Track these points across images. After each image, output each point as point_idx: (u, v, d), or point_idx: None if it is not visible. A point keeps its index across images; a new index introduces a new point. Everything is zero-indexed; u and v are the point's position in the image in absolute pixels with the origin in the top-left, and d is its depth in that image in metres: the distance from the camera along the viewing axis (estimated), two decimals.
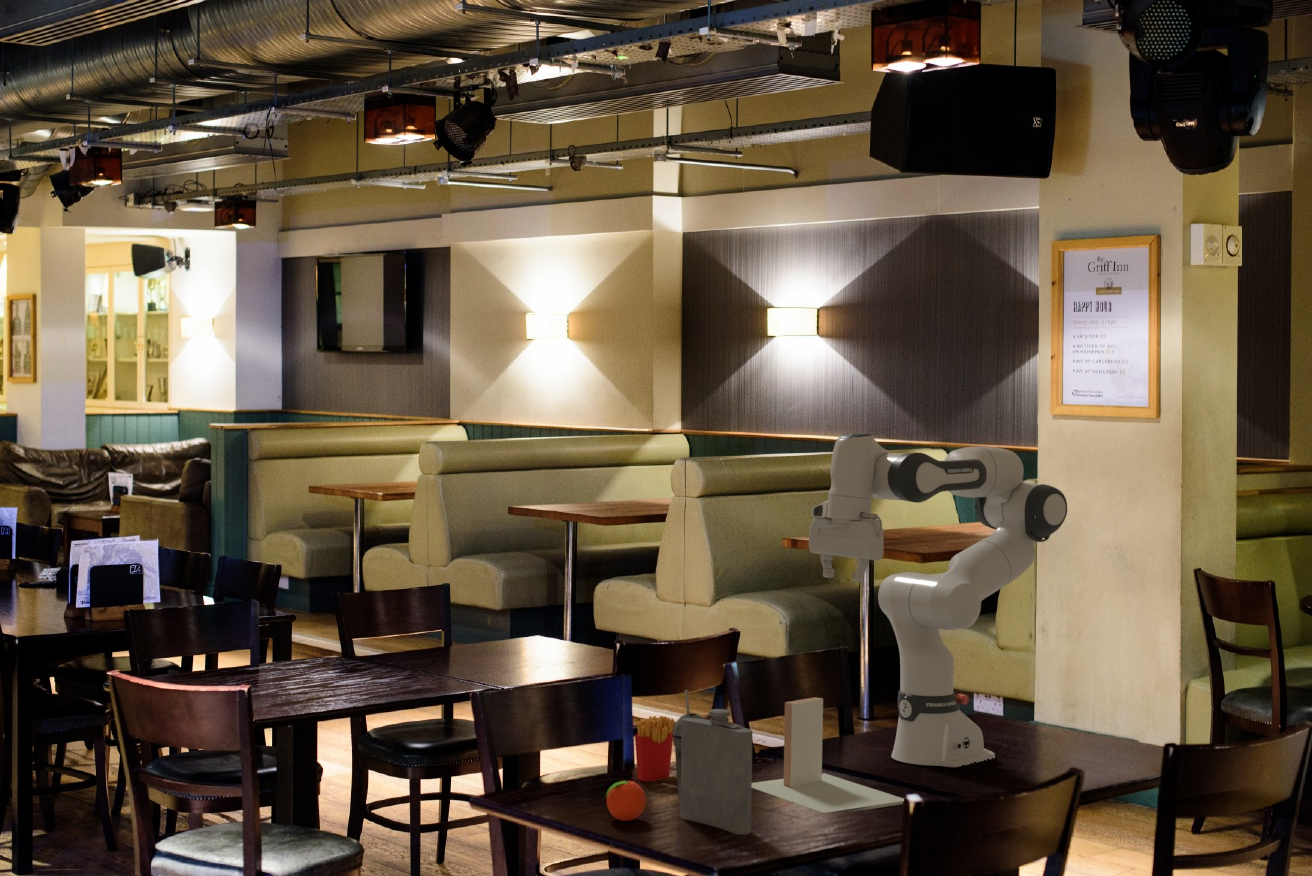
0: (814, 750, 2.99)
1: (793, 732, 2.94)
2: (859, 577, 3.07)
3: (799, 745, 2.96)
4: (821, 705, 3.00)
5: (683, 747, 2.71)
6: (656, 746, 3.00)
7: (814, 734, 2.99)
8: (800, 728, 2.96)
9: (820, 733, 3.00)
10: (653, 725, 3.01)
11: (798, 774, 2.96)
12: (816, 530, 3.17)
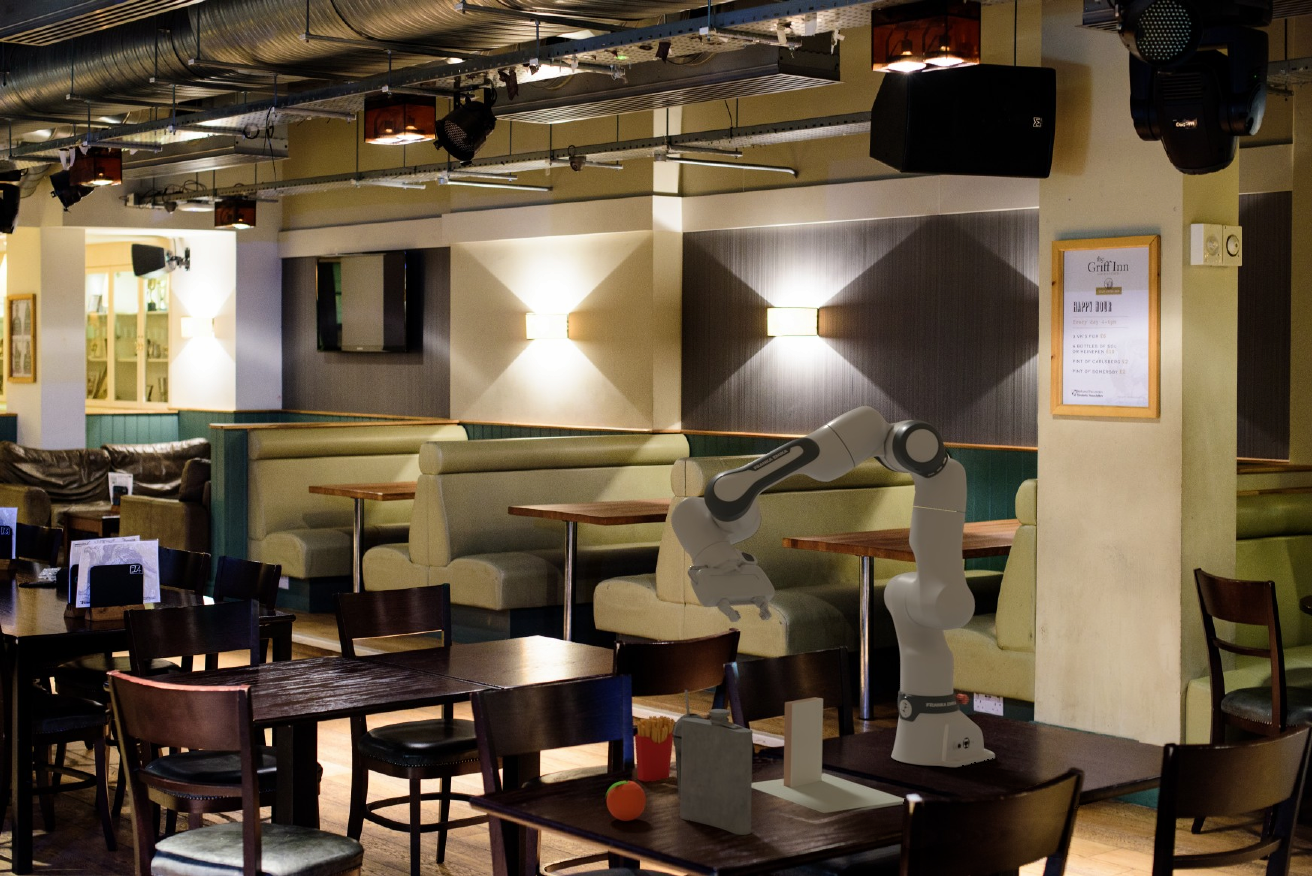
0: (814, 750, 2.99)
1: (793, 732, 2.94)
2: (731, 617, 3.04)
3: (799, 745, 2.96)
4: (821, 705, 3.00)
5: (683, 747, 2.71)
6: (656, 746, 3.00)
7: (814, 734, 2.99)
8: (800, 728, 2.96)
9: (820, 733, 3.00)
10: (653, 725, 3.01)
11: (798, 774, 2.96)
12: None
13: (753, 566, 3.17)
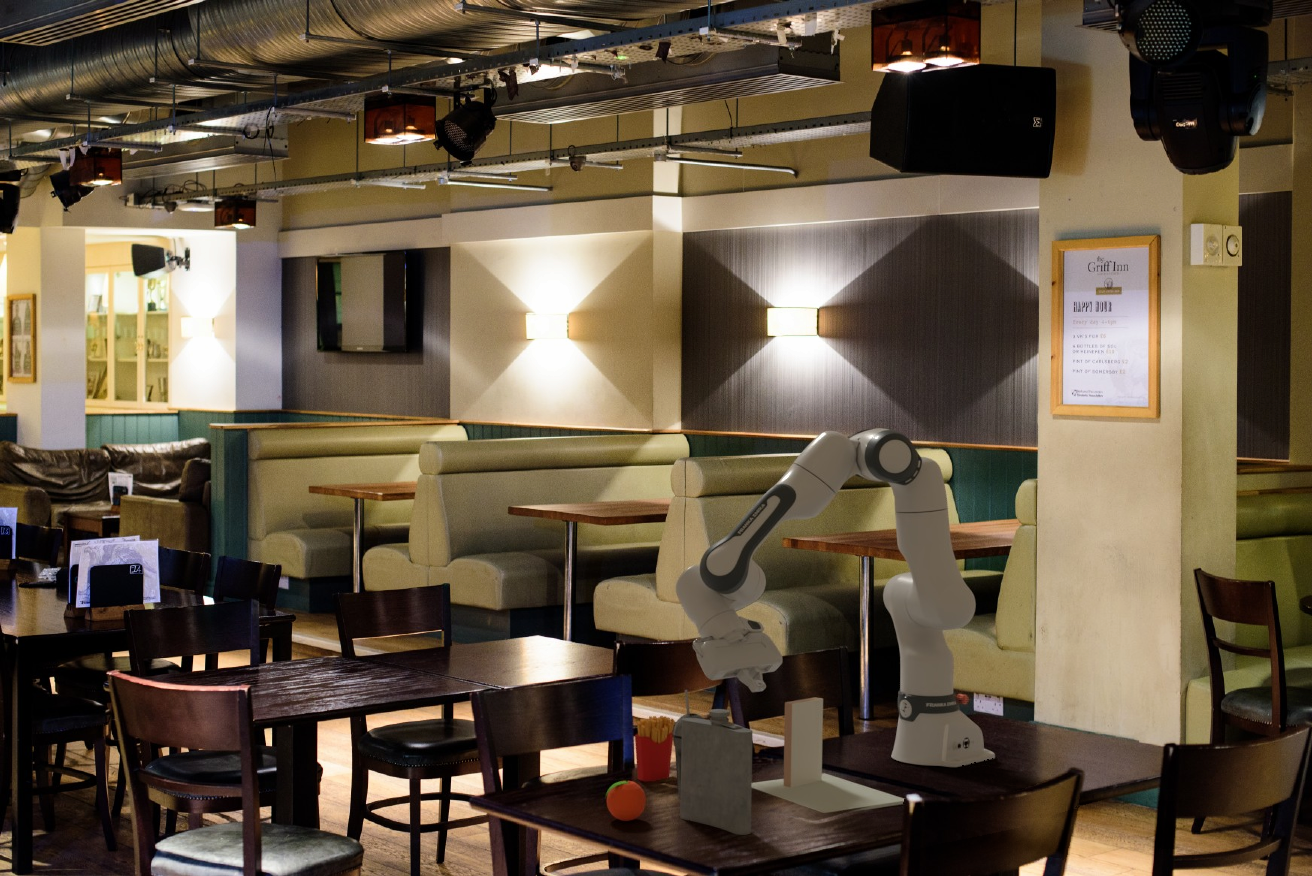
0: (814, 750, 2.99)
1: (793, 732, 2.94)
2: (752, 687, 3.06)
3: (799, 745, 2.96)
4: (821, 705, 3.00)
5: (683, 747, 2.71)
6: (656, 746, 3.00)
7: (814, 734, 2.99)
8: (800, 728, 2.96)
9: (820, 733, 3.00)
10: (653, 725, 3.01)
11: (798, 774, 2.96)
12: None
13: (760, 634, 3.15)
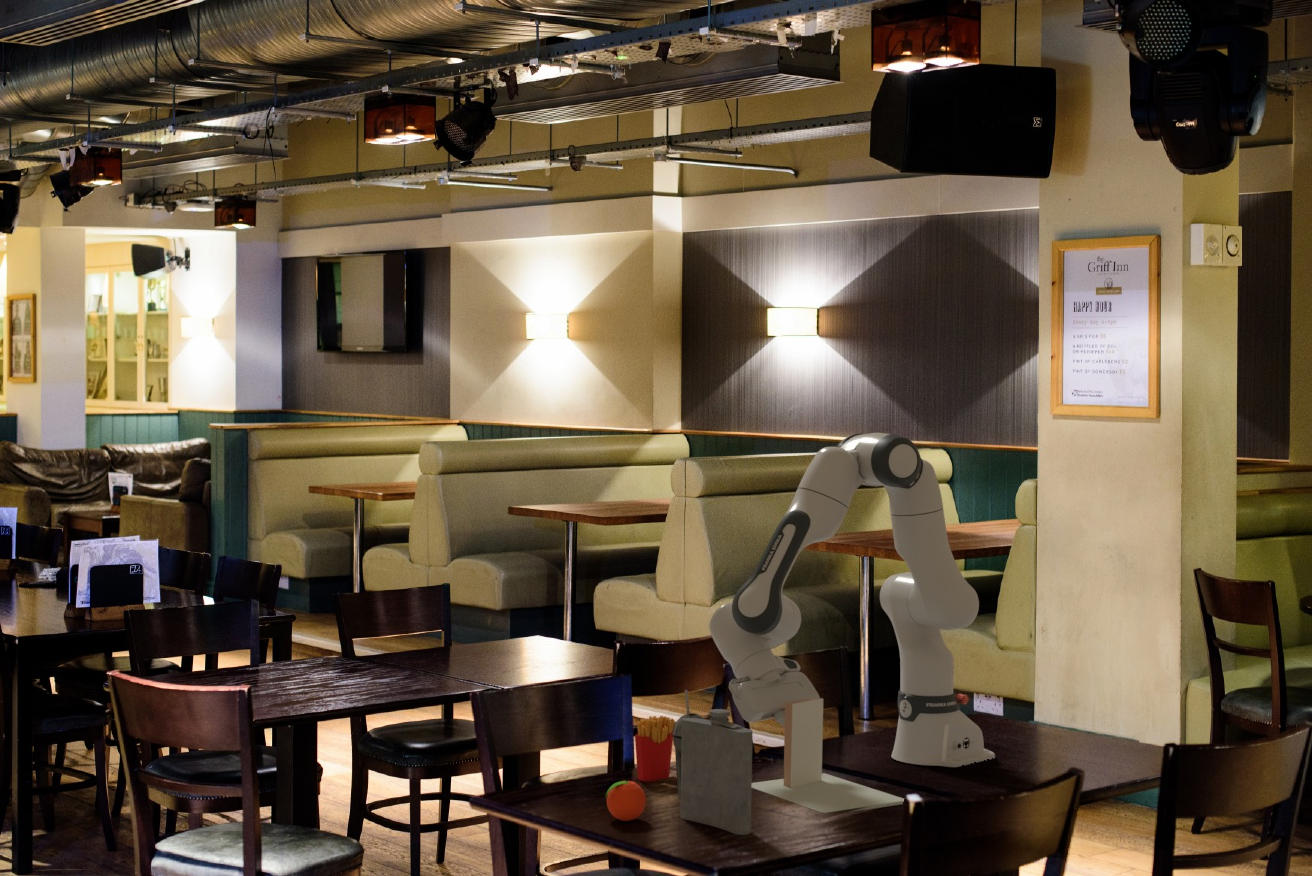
0: (814, 750, 2.99)
1: (793, 732, 2.94)
2: None
3: (799, 745, 2.96)
4: (821, 705, 3.00)
5: (683, 747, 2.71)
6: (656, 746, 3.00)
7: (815, 734, 2.99)
8: (800, 728, 2.96)
9: (820, 733, 3.00)
10: (653, 725, 3.01)
11: (798, 774, 2.95)
12: None
13: (796, 673, 3.08)
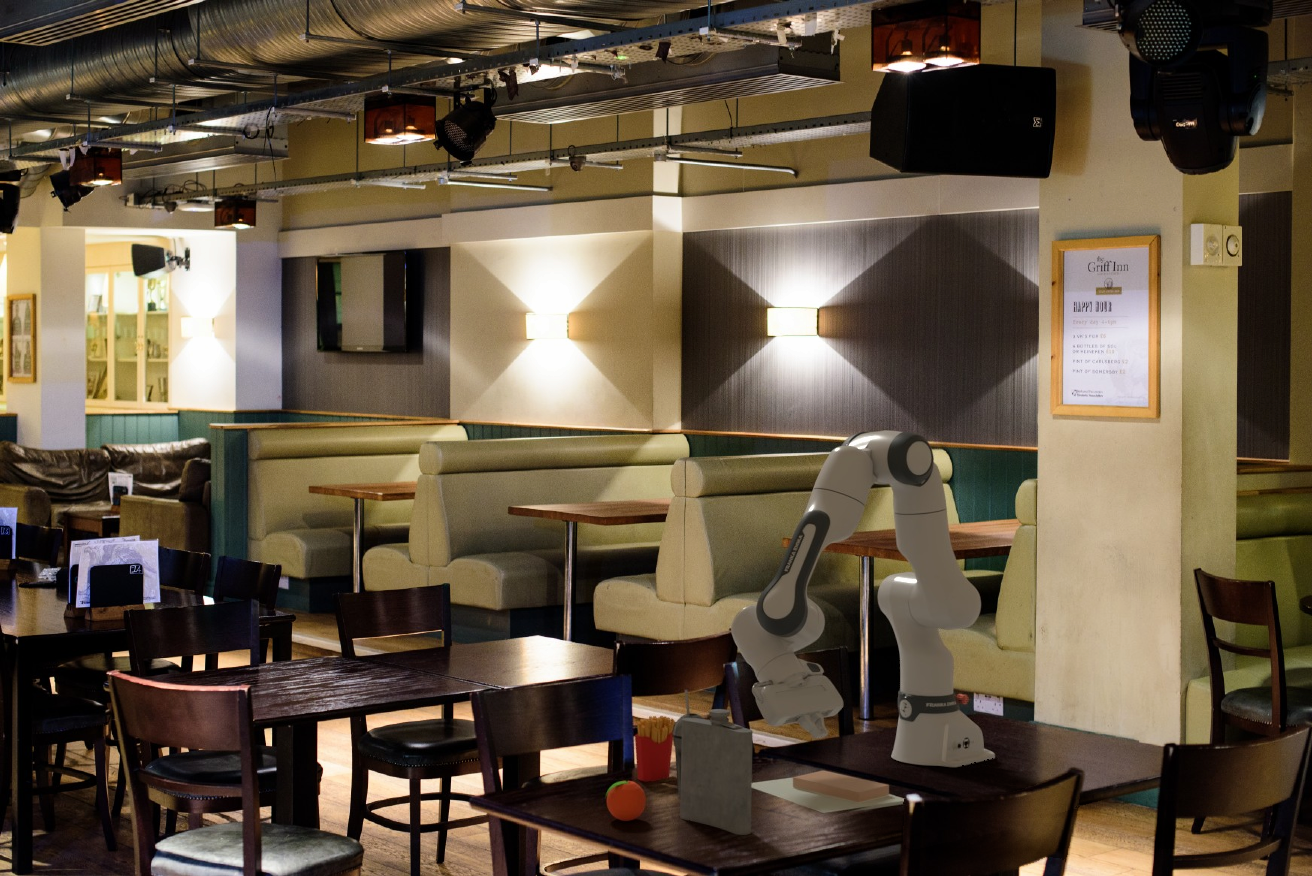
0: None
1: (836, 797, 2.87)
2: (814, 733, 2.94)
3: None
4: None
5: (683, 747, 2.71)
6: (656, 746, 3.00)
7: None
8: None
9: None
10: (653, 725, 3.01)
11: None
12: None
13: (819, 677, 3.04)
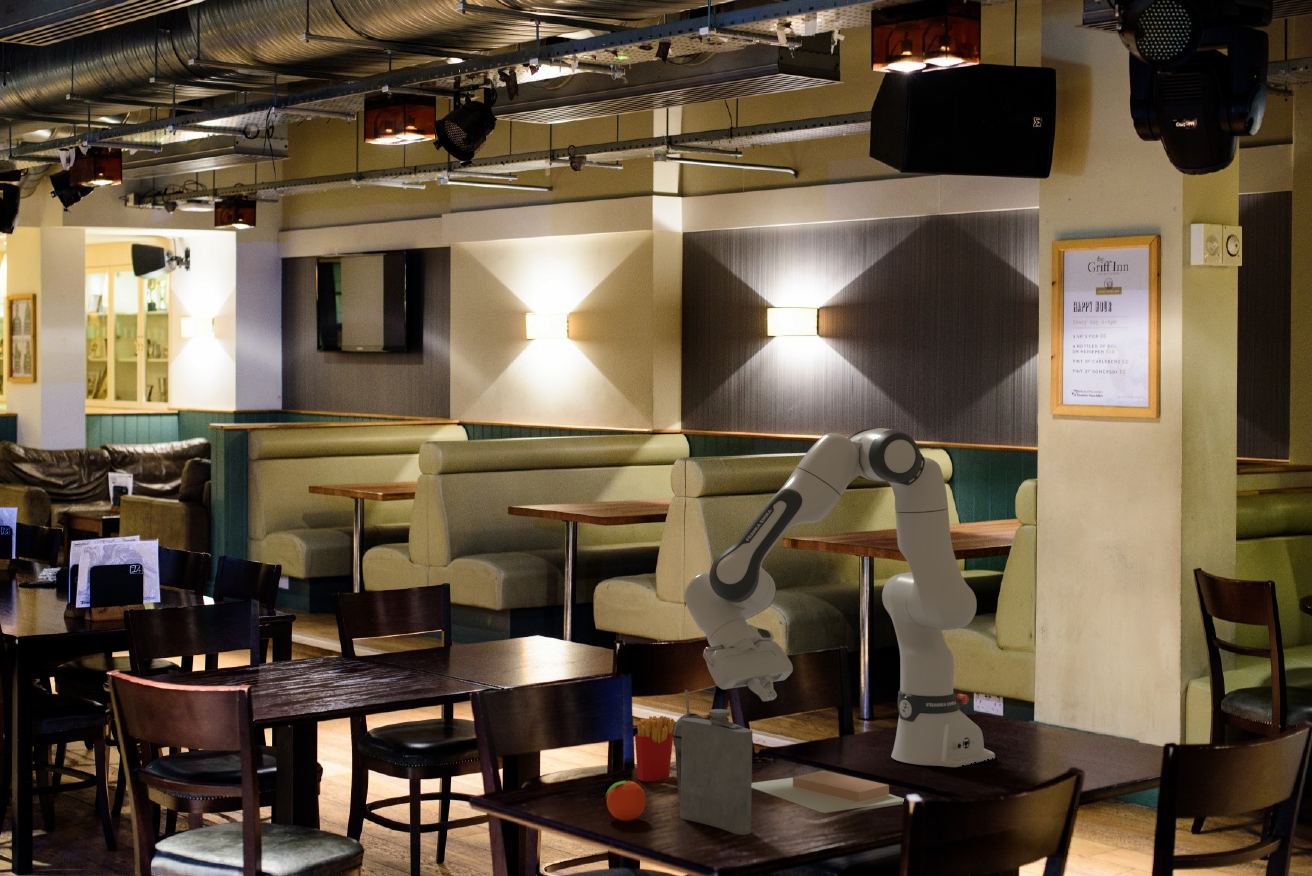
0: None
1: (836, 797, 2.87)
2: (763, 696, 3.03)
3: None
4: None
5: (683, 747, 2.71)
6: (656, 746, 3.00)
7: None
8: None
9: None
10: (653, 725, 3.01)
11: None
12: None
13: (770, 642, 3.13)
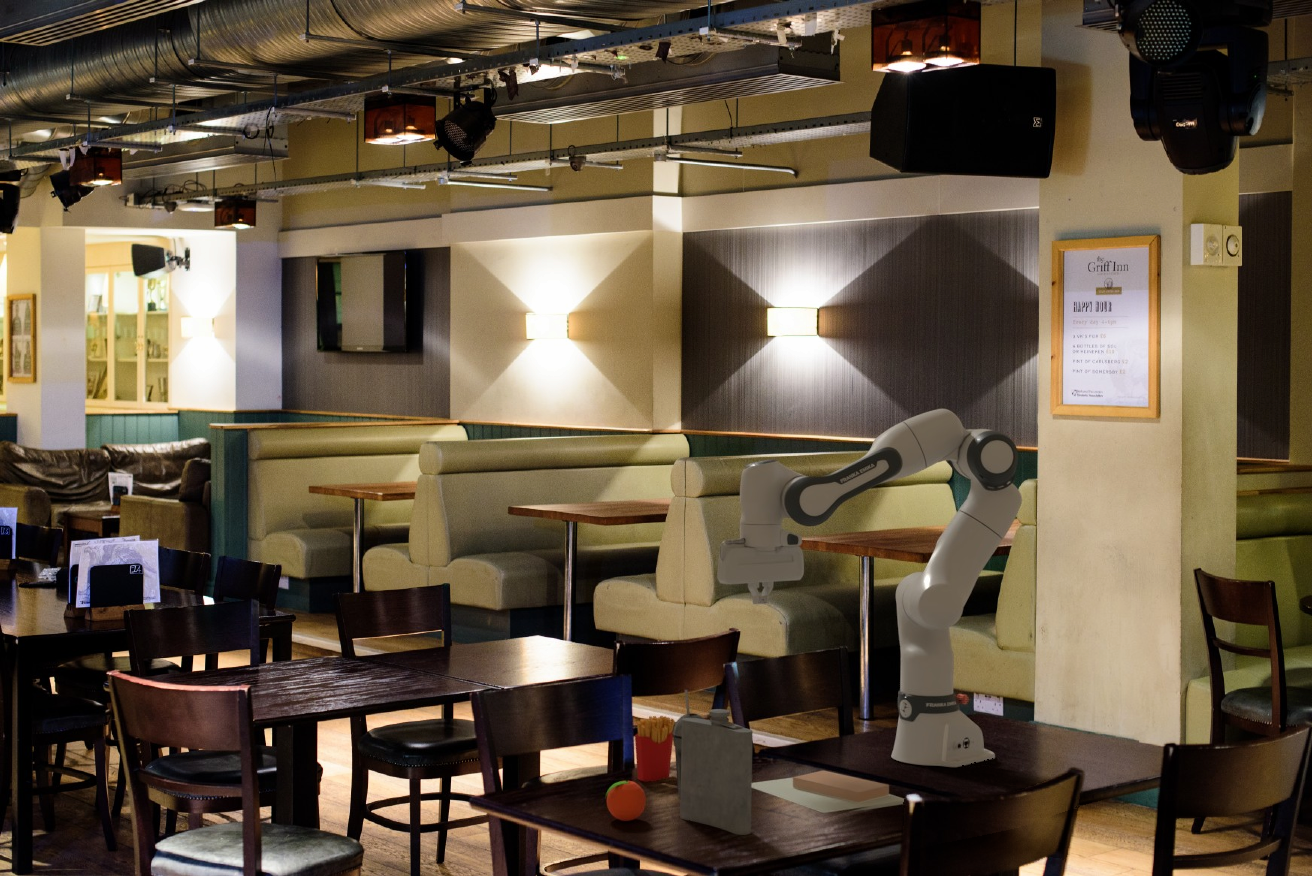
0: None
1: (836, 797, 2.87)
2: (754, 600, 3.20)
3: None
4: None
5: (683, 747, 2.71)
6: (656, 746, 3.00)
7: None
8: None
9: None
10: (653, 725, 3.01)
11: None
12: None
13: (793, 549, 3.21)
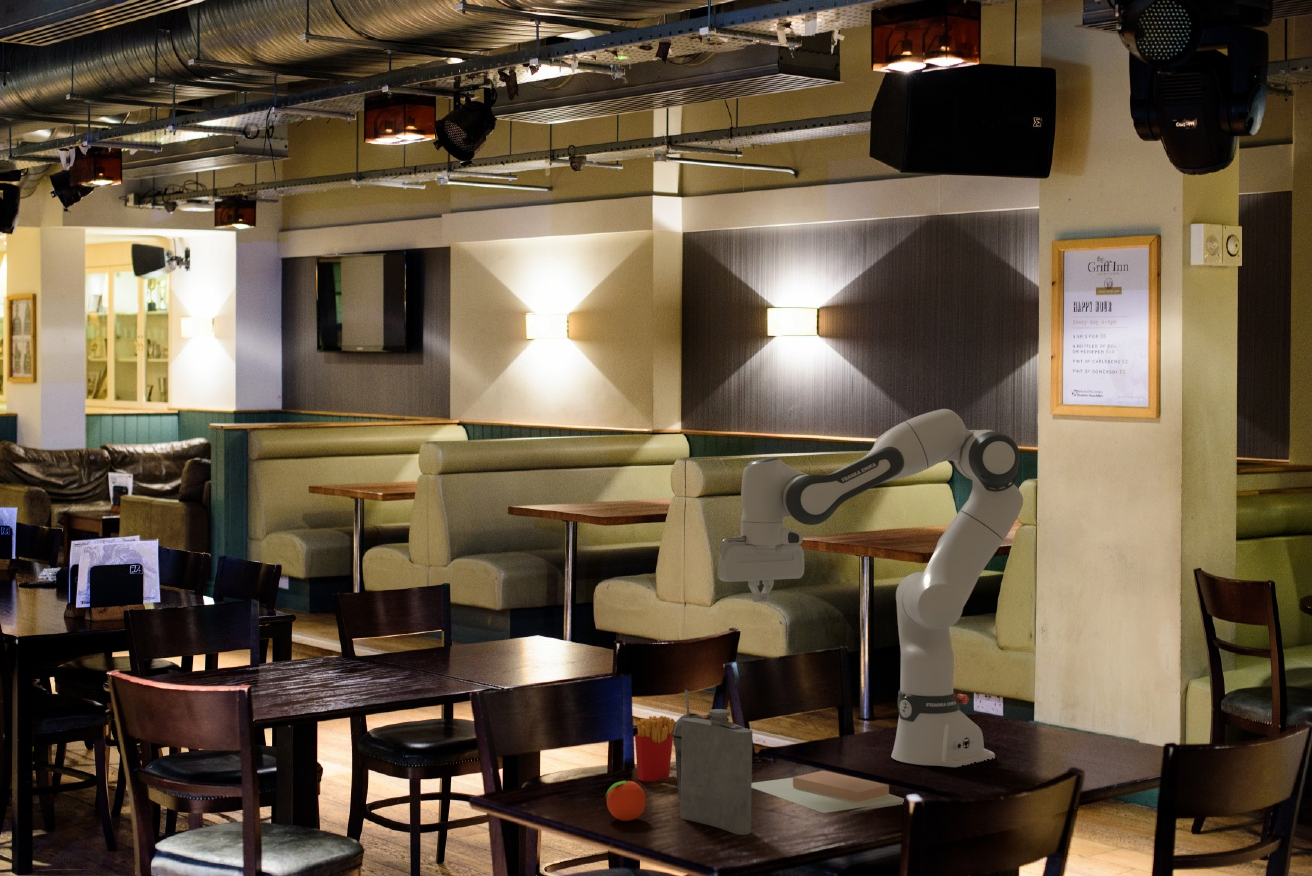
0: None
1: (836, 797, 2.87)
2: (754, 597, 3.20)
3: None
4: None
5: (683, 747, 2.71)
6: (656, 746, 3.00)
7: None
8: None
9: None
10: (653, 725, 3.01)
11: None
12: None
13: (794, 547, 3.22)
